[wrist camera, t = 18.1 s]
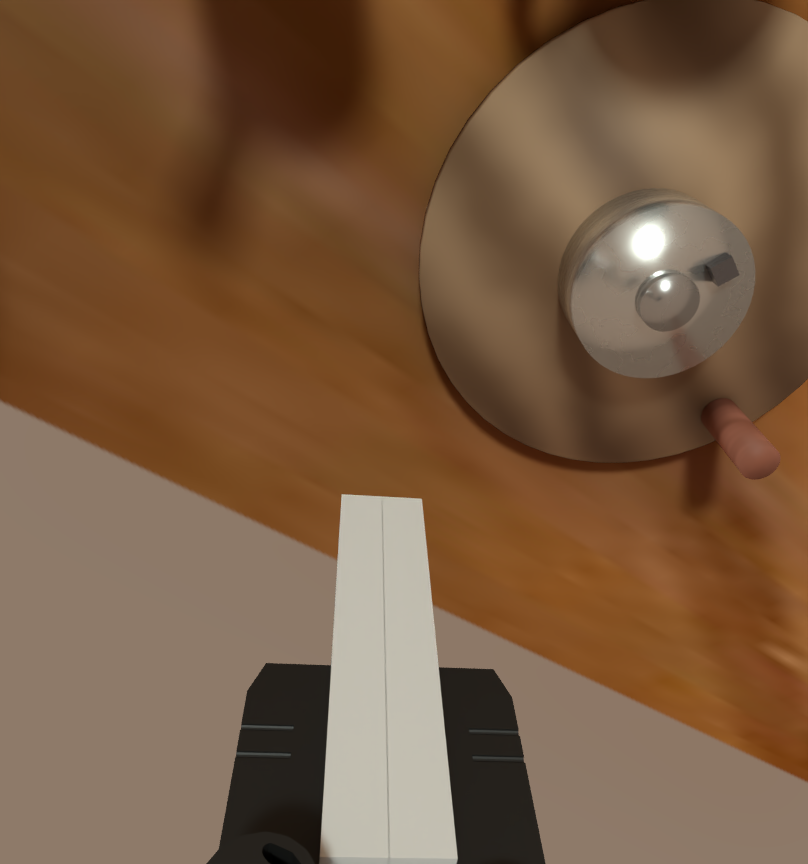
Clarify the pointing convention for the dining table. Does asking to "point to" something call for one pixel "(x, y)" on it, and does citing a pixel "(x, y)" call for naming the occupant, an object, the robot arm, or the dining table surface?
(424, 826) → the robot arm
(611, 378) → the turntable
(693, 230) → the cover
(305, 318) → the dining table surface
